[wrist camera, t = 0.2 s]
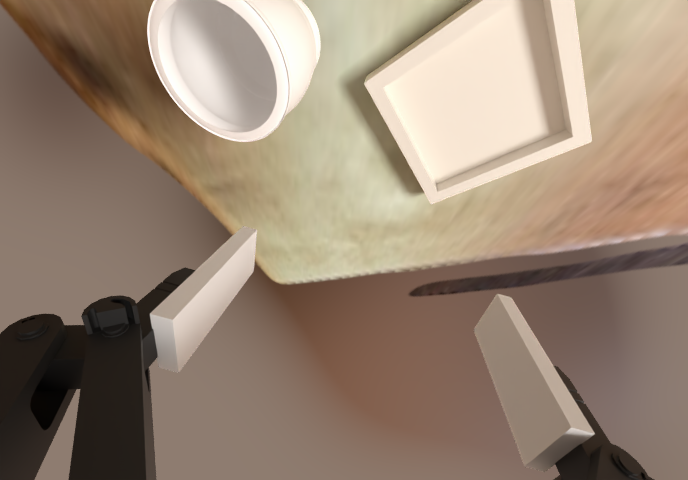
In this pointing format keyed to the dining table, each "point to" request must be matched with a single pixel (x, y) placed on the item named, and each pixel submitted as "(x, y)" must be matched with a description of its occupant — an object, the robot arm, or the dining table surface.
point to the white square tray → (486, 93)
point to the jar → (234, 61)
